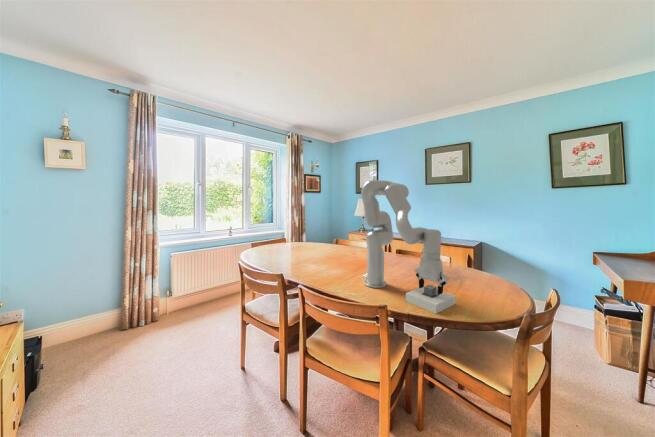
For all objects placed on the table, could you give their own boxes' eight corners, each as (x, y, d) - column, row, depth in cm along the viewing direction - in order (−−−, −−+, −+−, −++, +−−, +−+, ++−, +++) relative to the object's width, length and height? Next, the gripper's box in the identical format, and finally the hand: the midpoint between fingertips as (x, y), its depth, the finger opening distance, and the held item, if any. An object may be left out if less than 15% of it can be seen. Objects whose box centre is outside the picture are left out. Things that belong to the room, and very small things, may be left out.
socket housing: (405, 300, 122) (405, 293, 121) (425, 293, 131) (425, 285, 130) (435, 313, 109) (436, 304, 108) (455, 304, 118) (455, 295, 117)
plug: (423, 302, 120) (424, 286, 119) (428, 300, 122) (429, 284, 122) (431, 305, 117) (431, 288, 116) (436, 303, 119) (436, 286, 118)
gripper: (411, 253, 122) (410, 287, 124) (444, 260, 108) (443, 298, 110) (420, 251, 127) (419, 283, 128) (453, 258, 113) (452, 294, 114)
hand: (430, 290), depth 119 cm, fingers open, 9 cm apart
